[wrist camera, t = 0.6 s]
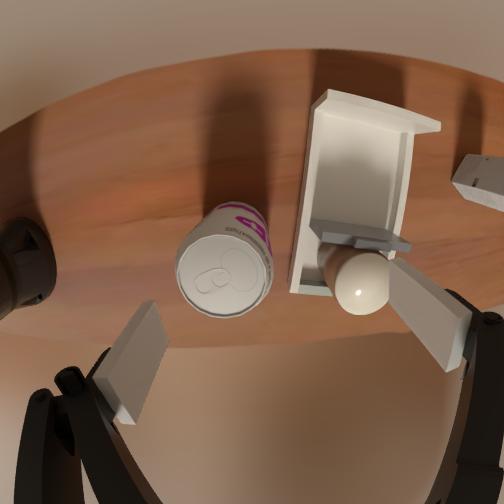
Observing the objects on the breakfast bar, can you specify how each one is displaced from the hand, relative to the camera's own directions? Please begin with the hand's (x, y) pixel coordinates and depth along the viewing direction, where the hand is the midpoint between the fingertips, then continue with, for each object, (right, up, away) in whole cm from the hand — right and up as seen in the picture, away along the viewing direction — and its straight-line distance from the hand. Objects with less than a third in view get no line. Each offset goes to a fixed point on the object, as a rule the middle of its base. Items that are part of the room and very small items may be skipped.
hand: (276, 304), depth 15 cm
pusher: (+11, +6, +19) cm, 23 cm away
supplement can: (-3, +5, +21) cm, 22 cm away
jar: (+10, +2, +21) cm, 23 cm away
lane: (+11, +9, +20) cm, 24 cm away
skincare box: (+31, +14, +18) cm, 38 cm away
